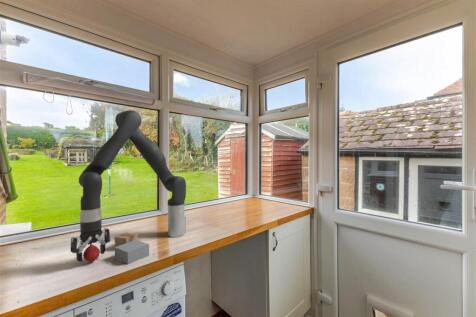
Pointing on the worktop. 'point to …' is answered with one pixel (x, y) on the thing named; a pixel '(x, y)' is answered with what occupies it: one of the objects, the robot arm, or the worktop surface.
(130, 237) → the walnut block
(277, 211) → the worktop surface
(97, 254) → the onion
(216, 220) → the worktop surface
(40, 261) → the worktop surface
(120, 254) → the grey block
